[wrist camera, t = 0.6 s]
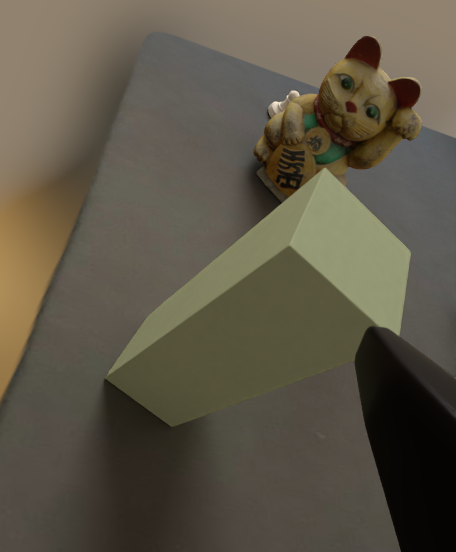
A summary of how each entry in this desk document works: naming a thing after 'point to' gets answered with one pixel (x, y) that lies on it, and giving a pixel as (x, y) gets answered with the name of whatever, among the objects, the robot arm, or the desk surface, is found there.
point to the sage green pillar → (269, 308)
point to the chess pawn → (282, 104)
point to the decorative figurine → (339, 123)
